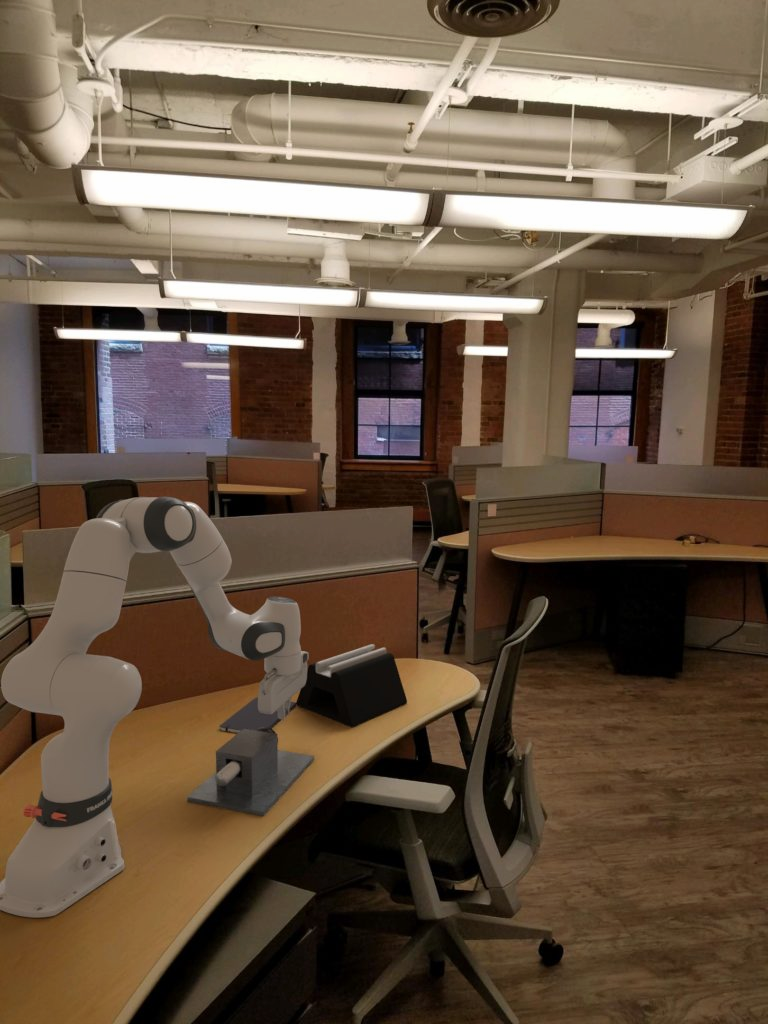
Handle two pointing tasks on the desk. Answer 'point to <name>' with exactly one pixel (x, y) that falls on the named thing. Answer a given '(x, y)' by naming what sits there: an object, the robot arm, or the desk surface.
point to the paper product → (251, 718)
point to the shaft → (235, 765)
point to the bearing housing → (252, 774)
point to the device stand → (353, 686)
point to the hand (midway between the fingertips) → (283, 716)
